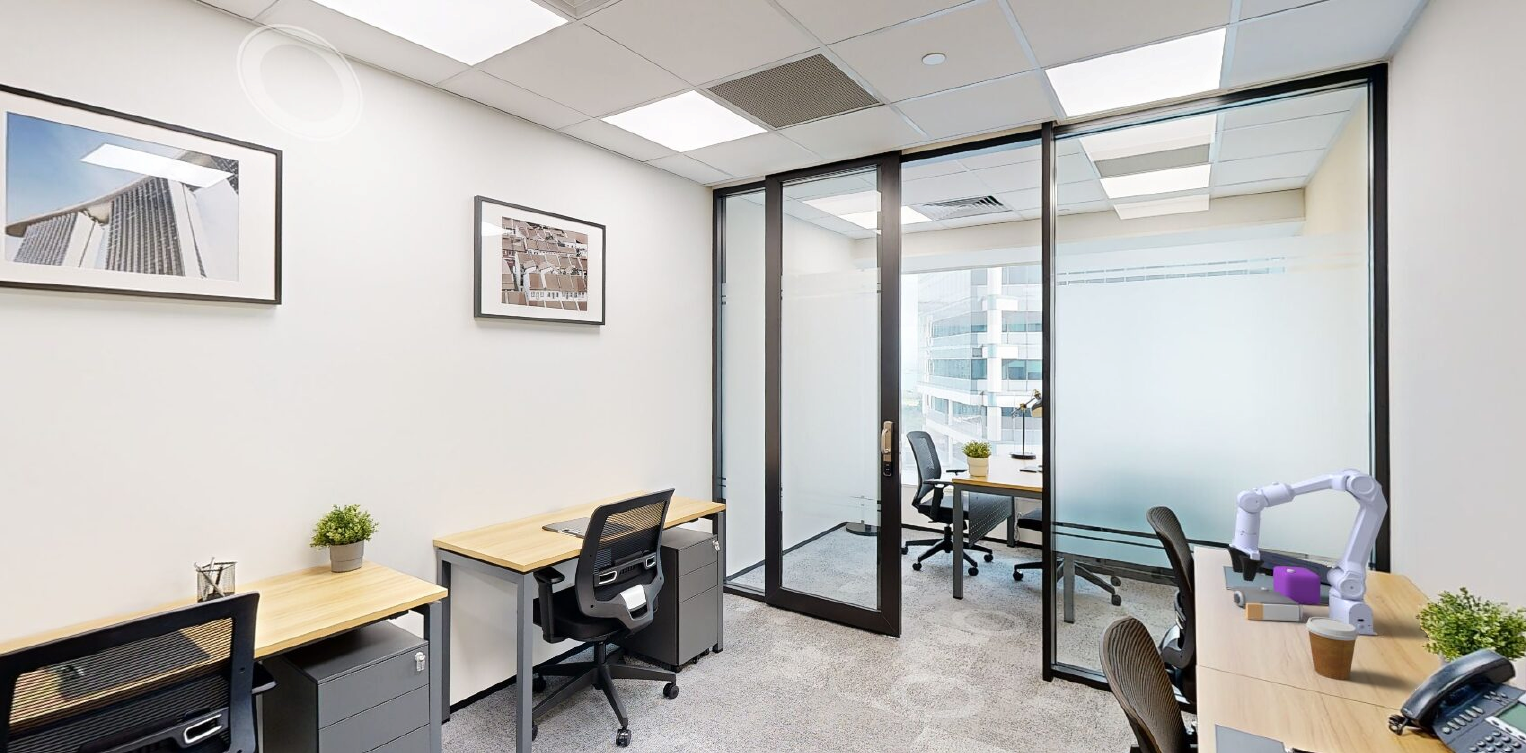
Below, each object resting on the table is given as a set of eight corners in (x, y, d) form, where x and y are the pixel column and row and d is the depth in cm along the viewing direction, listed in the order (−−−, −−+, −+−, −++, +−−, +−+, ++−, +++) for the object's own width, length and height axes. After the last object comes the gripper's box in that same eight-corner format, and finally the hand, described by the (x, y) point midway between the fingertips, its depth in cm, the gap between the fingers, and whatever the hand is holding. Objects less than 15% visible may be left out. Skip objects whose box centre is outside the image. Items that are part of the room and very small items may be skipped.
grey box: (1303, 622, 185) (1303, 603, 185) (1258, 620, 187) (1258, 601, 187) (1271, 603, 200) (1271, 585, 200) (1229, 601, 202) (1229, 583, 202)
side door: (1297, 620, 186) (1297, 605, 186) (1299, 621, 185) (1299, 606, 185) (1246, 618, 188) (1246, 603, 188) (1247, 619, 187) (1247, 604, 187)
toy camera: (1296, 591, 211) (1296, 560, 211) (1328, 606, 197) (1328, 573, 197) (1260, 590, 212) (1260, 560, 212) (1290, 605, 198) (1290, 573, 198)
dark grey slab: (1241, 552, 250) (1242, 543, 249) (1345, 577, 230) (1346, 568, 230) (1233, 567, 232) (1234, 557, 231) (1344, 596, 212) (1346, 585, 212)
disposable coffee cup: (1305, 661, 162) (1305, 613, 161) (1357, 672, 156) (1357, 622, 155) (1306, 675, 154) (1305, 625, 154) (1360, 687, 148) (1360, 635, 148)
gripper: (1222, 523, 200) (1218, 566, 201) (1241, 536, 186) (1236, 582, 187) (1249, 526, 198) (1245, 570, 198) (1270, 539, 184) (1265, 586, 185)
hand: (1242, 576), depth 192 cm, fingers open, 7 cm apart
